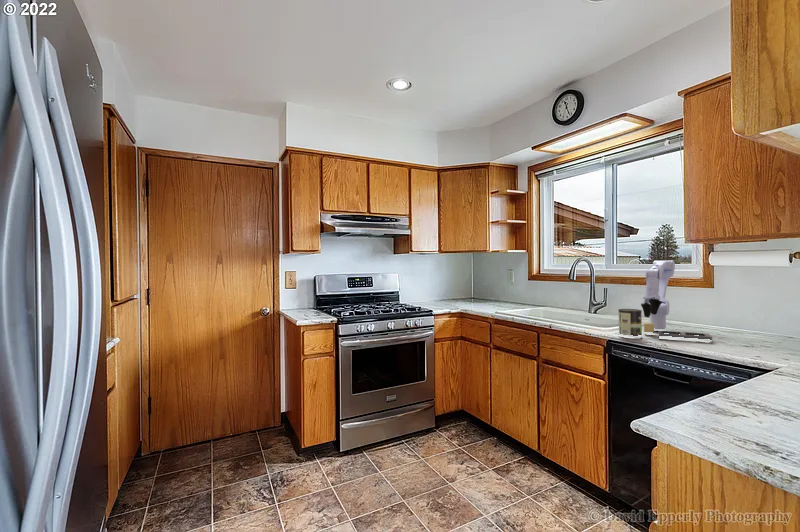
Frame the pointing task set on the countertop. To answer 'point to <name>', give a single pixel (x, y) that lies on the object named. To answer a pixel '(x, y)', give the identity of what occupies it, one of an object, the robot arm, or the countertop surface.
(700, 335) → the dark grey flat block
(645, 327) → the tan rectangular block
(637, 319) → the coffee can
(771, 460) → the countertop surface
